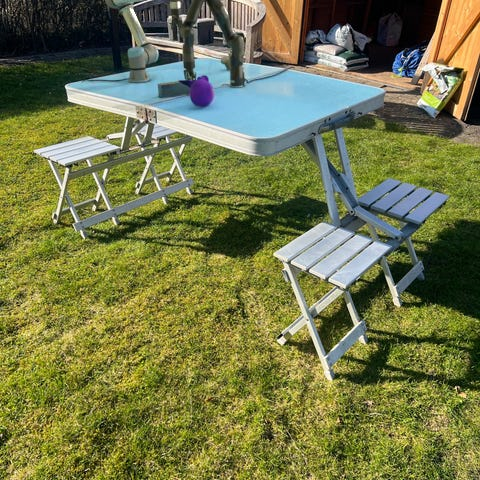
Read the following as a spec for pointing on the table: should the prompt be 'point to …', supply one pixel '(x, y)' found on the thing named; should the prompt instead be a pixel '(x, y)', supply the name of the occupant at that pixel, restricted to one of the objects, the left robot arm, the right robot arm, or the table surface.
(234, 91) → the table surface
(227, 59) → the teapot
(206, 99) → the toy
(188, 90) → the bar
